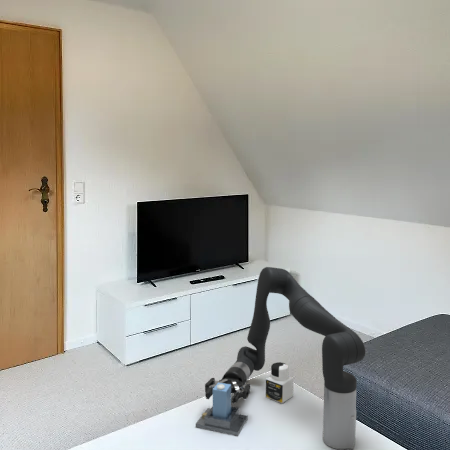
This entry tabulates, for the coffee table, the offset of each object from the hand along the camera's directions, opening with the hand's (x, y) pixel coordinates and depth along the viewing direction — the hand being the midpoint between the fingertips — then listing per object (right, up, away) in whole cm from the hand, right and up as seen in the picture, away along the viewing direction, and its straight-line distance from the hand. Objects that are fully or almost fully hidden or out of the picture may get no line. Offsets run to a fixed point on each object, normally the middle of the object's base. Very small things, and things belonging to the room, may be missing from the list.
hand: (219, 398), depth 149 cm
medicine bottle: (+21, -7, +20) cm, 30 cm away
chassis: (+1, -9, +3) cm, 9 cm away
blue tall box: (+1, -8, +3) cm, 8 cm away
